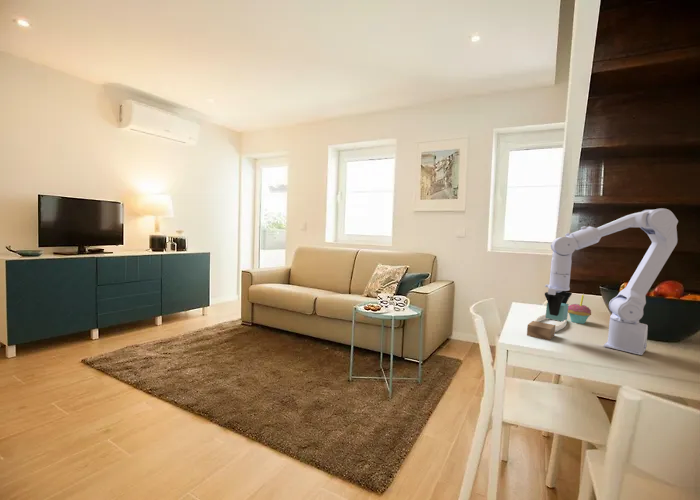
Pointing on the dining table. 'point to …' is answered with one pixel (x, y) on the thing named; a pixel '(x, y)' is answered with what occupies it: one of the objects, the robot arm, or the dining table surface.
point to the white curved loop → (553, 319)
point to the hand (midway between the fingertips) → (556, 313)
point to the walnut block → (541, 330)
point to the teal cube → (561, 315)
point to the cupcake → (579, 312)
